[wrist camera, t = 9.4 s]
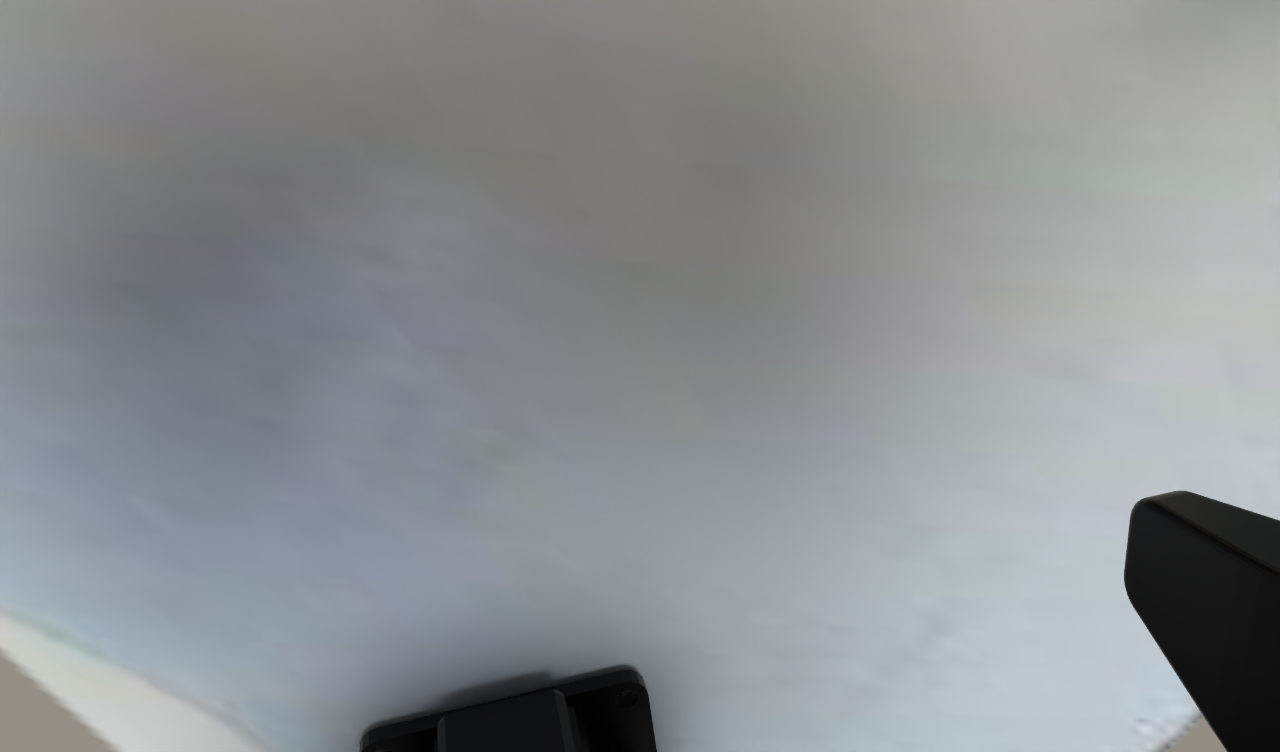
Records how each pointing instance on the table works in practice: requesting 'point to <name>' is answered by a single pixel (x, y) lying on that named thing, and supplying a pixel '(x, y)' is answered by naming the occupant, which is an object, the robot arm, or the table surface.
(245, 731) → the table surface
